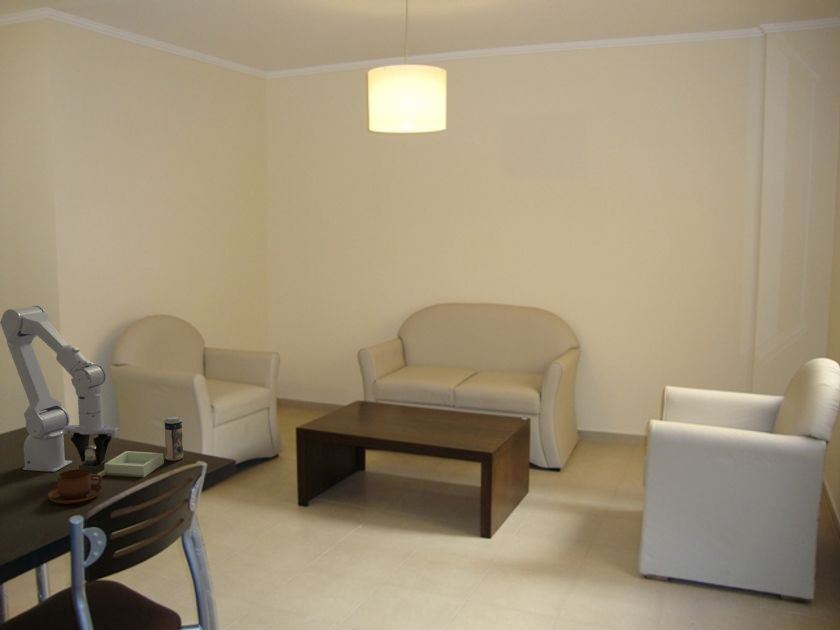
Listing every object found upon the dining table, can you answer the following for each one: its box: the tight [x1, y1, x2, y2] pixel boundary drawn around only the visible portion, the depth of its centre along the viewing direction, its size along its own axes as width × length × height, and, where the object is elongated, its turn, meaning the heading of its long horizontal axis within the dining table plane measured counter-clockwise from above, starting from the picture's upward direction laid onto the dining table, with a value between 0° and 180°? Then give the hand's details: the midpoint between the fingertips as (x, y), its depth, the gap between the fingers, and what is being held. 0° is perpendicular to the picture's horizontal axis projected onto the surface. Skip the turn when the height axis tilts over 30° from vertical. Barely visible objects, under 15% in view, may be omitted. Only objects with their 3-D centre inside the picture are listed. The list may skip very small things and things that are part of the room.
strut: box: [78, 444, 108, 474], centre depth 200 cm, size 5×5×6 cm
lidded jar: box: [163, 415, 184, 462], centre depth 212 cm, size 5×5×12 cm
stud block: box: [91, 470, 106, 480], centre depth 200 cm, size 7×7×3 cm
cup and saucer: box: [47, 468, 103, 505], centre depth 183 cm, size 12×12×6 cm
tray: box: [104, 450, 165, 478], centre depth 204 cm, size 11×11×3 cm
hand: (92, 461), depth 200 cm, fingers closed on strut, 4 cm apart
